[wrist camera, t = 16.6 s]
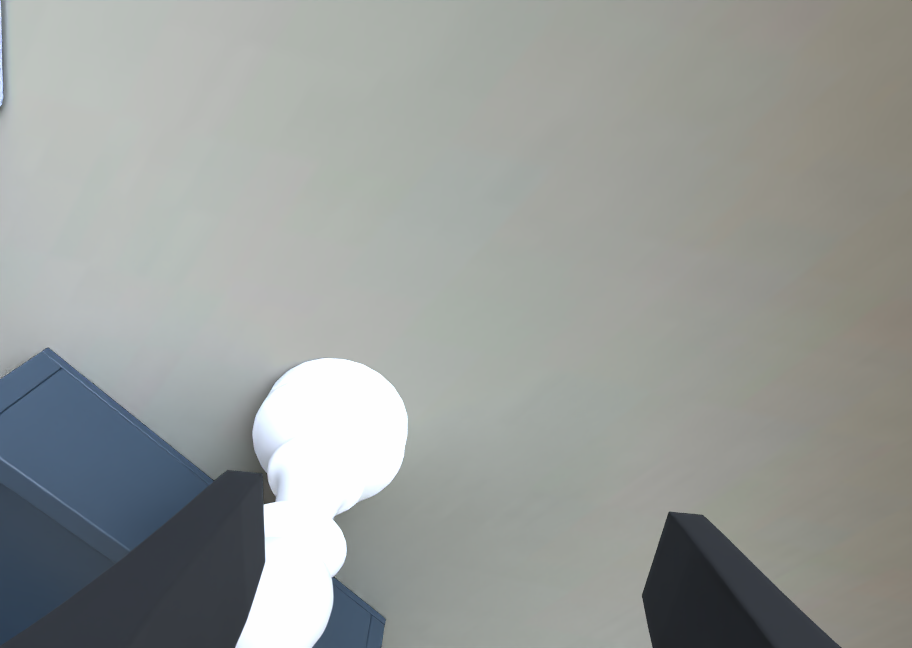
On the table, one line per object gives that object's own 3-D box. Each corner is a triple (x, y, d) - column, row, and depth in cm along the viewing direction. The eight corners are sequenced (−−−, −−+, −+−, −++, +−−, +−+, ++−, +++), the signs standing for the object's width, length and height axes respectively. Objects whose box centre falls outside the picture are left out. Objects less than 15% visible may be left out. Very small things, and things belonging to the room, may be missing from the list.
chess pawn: (269, 344, 19) (123, 547, 11) (418, 367, 20) (384, 584, 11) (263, 465, 21) (137, 714, 13) (399, 485, 22) (357, 741, 13)
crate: (-159, 556, 24) (-284, 654, 20) (47, 346, 20) (-58, 417, 16) (168, 754, 28) (120, 864, 24) (386, 618, 24) (370, 724, 21)
